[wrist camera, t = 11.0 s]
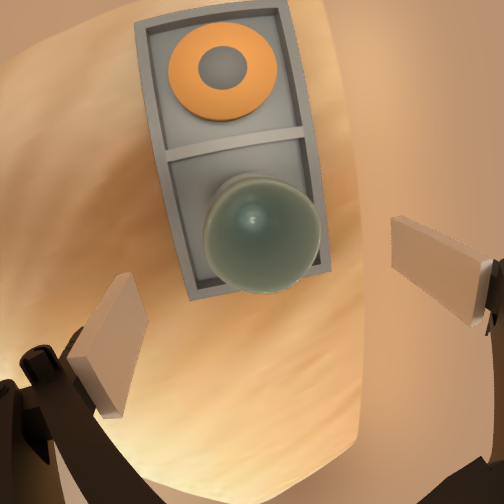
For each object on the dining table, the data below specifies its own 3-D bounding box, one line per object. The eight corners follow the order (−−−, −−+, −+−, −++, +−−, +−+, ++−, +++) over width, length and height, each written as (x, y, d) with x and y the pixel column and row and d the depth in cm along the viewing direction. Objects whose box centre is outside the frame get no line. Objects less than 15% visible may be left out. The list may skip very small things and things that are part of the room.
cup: (223, 157, 27) (228, 159, 18) (300, 187, 29) (340, 204, 20) (195, 235, 29) (186, 276, 20) (270, 260, 31) (295, 308, 22)
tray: (139, 31, 23) (133, 22, 20) (281, 9, 24) (286, -2, 21) (191, 289, 32) (189, 300, 29) (323, 262, 32) (331, 271, 30)
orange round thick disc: (153, 85, 24) (145, 77, 21) (217, 18, 23) (217, 4, 20) (227, 141, 27) (229, 140, 24) (290, 72, 26) (298, 64, 22)
